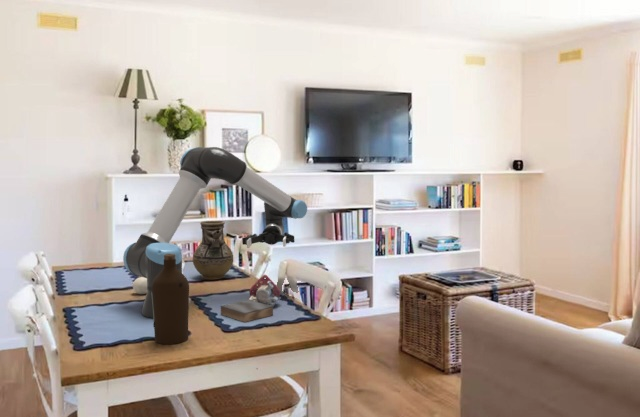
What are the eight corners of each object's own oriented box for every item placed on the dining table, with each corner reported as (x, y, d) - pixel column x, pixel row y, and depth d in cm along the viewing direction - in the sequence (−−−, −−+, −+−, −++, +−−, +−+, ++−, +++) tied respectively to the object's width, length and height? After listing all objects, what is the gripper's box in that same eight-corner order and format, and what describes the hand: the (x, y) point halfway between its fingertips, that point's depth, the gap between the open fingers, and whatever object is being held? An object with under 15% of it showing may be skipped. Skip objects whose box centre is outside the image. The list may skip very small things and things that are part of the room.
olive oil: (195, 335, 173) (194, 252, 171) (181, 346, 163) (179, 258, 161) (162, 333, 175) (160, 251, 173) (146, 344, 165) (143, 257, 163)
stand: (244, 322, 187) (244, 313, 187) (220, 314, 196) (220, 305, 196) (272, 315, 195) (272, 306, 195) (249, 308, 204) (249, 299, 204)
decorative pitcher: (190, 274, 265) (189, 220, 263) (228, 271, 271) (228, 218, 269) (196, 284, 245) (195, 225, 243) (238, 281, 251) (237, 223, 249)
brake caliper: (283, 294, 215) (279, 272, 207) (279, 318, 207) (275, 297, 199) (253, 293, 216) (248, 272, 208) (248, 317, 208) (242, 296, 200)
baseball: (141, 291, 232) (141, 274, 231) (155, 293, 228) (154, 276, 228) (128, 294, 226) (128, 277, 225) (142, 296, 222) (141, 279, 222)
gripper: (302, 241, 238) (299, 252, 217) (242, 244, 239) (233, 255, 218) (301, 223, 237) (298, 232, 216) (241, 226, 238) (232, 235, 217)
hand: (265, 243), depth 217 cm, fingers open, 13 cm apart
